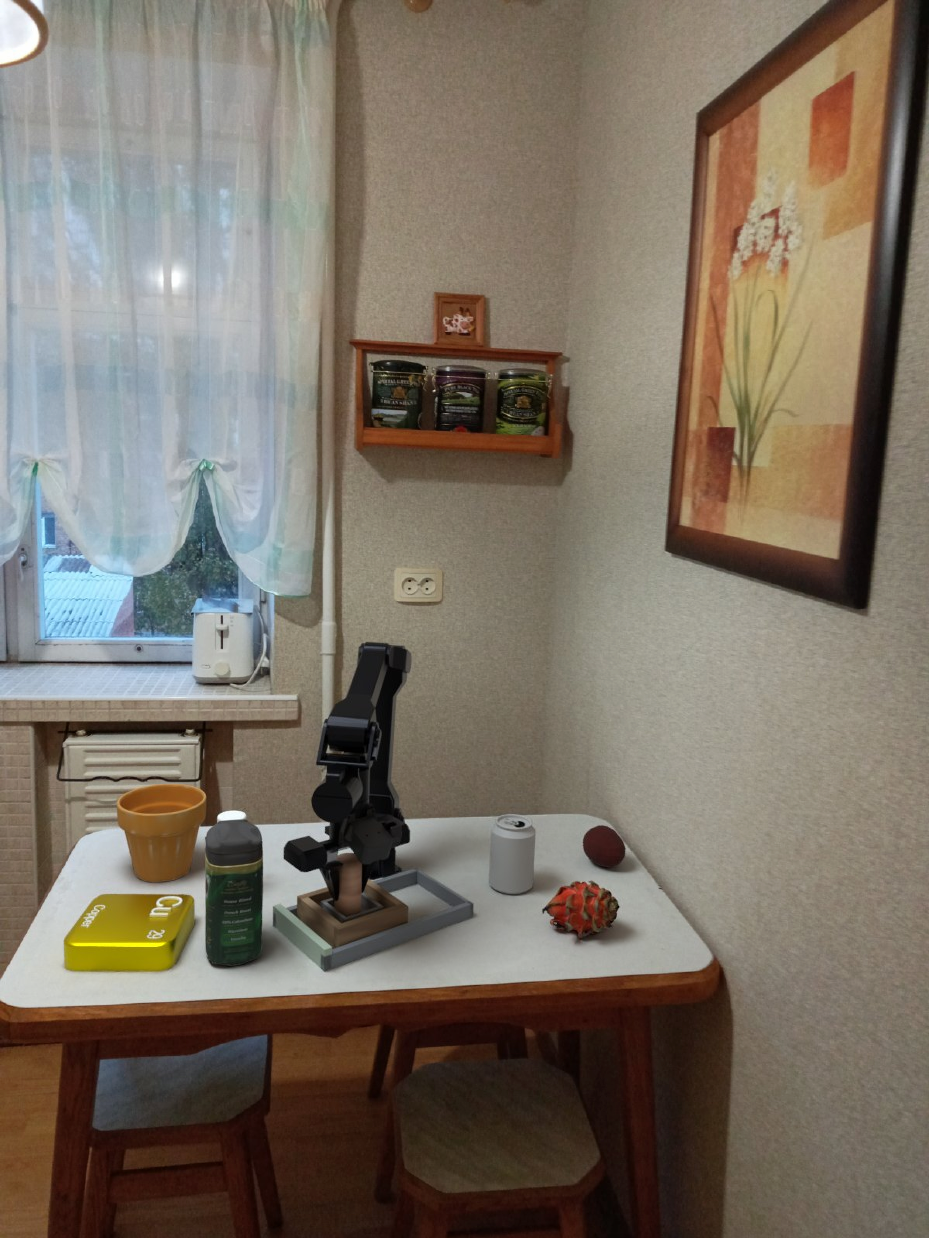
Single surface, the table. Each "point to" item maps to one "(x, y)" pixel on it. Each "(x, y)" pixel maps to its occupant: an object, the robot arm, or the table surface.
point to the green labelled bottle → (233, 892)
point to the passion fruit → (604, 846)
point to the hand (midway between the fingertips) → (347, 895)
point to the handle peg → (349, 885)
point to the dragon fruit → (582, 908)
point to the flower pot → (161, 828)
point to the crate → (339, 930)
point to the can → (512, 854)
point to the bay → (333, 958)
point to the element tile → (130, 933)
